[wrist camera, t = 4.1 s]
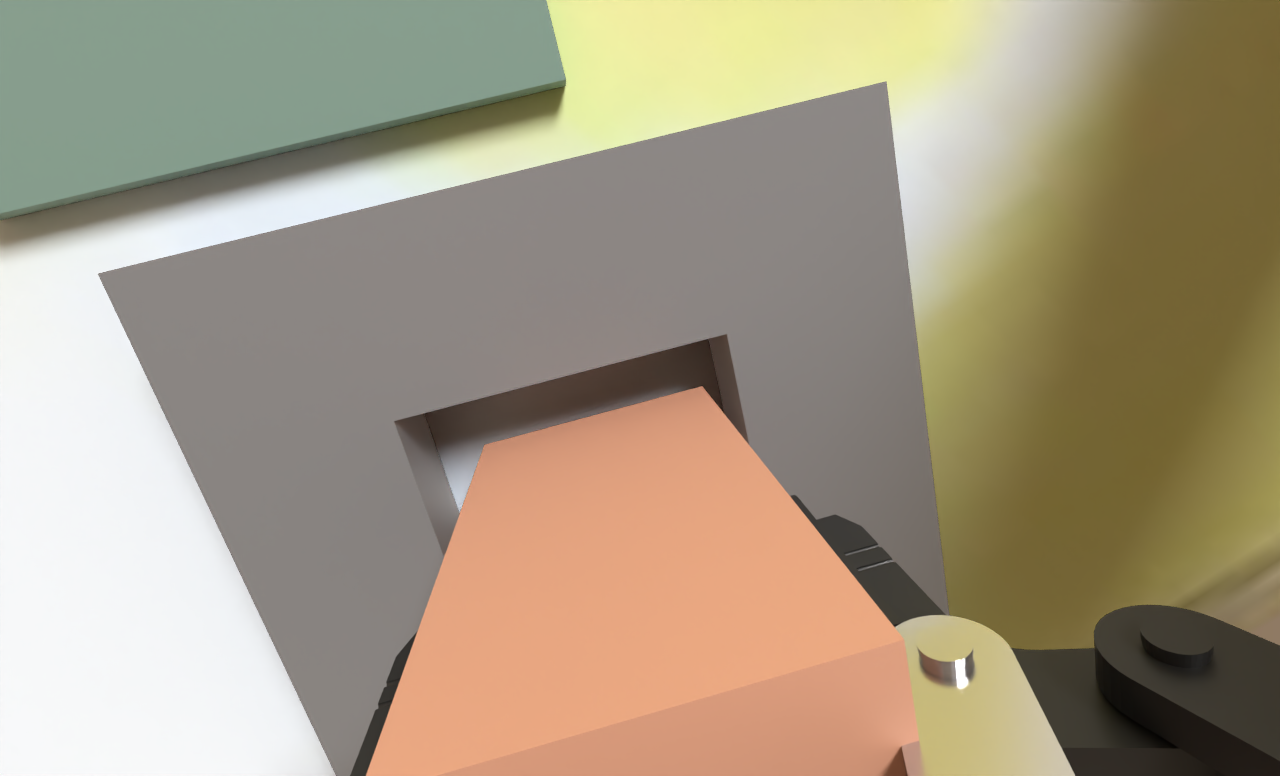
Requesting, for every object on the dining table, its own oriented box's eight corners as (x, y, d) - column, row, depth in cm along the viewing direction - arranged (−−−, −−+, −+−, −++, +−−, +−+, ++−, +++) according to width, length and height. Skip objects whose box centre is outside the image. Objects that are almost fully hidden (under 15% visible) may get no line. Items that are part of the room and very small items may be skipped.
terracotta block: (702, 386, 13) (904, 640, 5) (745, 575, 14) (958, 1006, 6) (484, 444, 13) (358, 799, 5) (547, 631, 14) (524, 1142, 6)
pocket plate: (839, 101, 13) (886, 81, 11) (915, 649, 17) (959, 703, 15) (168, 265, 13) (97, 273, 11) (404, 799, 16) (383, 876, 15)
